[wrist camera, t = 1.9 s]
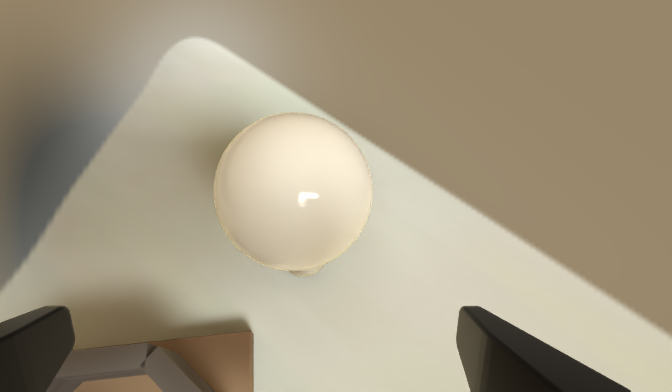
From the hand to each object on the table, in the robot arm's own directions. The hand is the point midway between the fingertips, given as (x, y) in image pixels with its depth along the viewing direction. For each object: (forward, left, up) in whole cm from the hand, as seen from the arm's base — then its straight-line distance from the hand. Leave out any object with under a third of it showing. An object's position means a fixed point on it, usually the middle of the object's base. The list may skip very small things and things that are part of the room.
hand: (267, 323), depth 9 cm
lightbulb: (+6, -1, -12) cm, 14 cm away
